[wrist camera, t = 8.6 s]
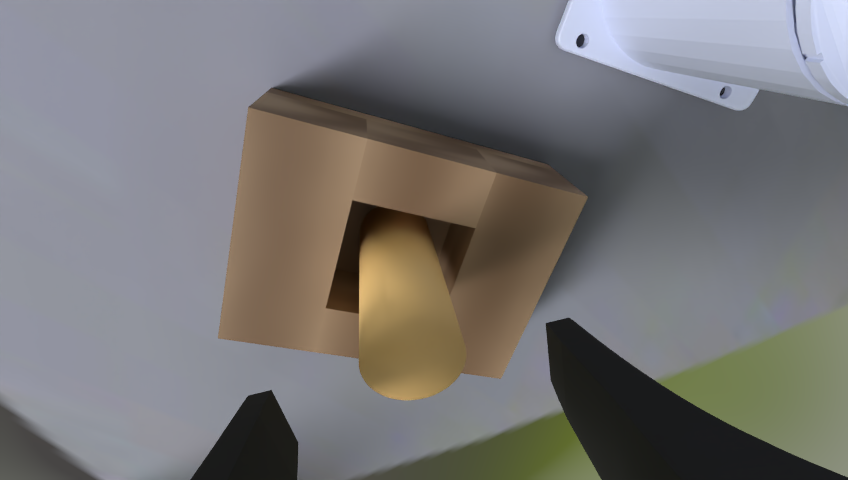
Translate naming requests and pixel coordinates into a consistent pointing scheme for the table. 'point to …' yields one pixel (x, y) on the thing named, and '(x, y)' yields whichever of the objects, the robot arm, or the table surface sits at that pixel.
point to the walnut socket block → (395, 189)
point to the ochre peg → (405, 309)
